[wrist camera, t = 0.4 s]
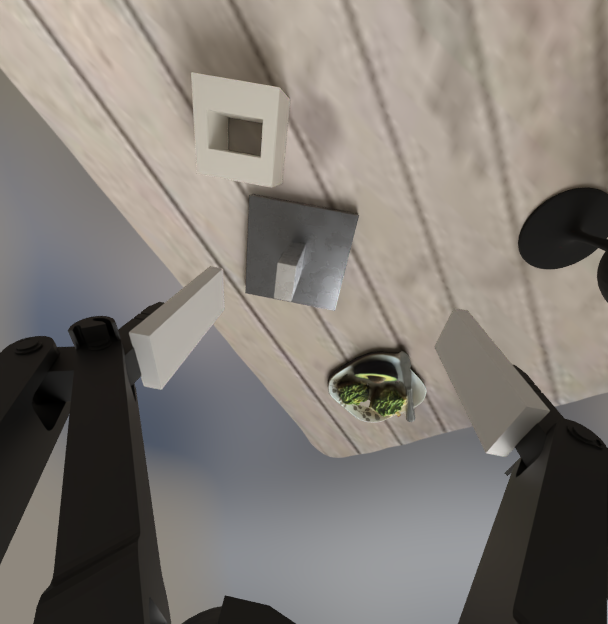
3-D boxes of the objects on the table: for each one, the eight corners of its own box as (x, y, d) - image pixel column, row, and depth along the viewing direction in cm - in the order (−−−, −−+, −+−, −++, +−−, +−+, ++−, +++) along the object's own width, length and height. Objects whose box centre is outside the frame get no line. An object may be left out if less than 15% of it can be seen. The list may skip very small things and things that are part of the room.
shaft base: (252, 194, 36) (223, 205, 27) (358, 213, 36) (363, 231, 27) (248, 289, 44) (224, 322, 35) (335, 306, 44) (333, 344, 35)
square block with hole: (216, 86, 31) (191, 72, 26) (290, 99, 31) (279, 87, 25) (217, 171, 35) (196, 173, 30) (282, 183, 35) (271, 187, 30)
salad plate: (448, 399, 51) (457, 419, 47) (371, 429, 59) (373, 448, 55) (394, 334, 45) (399, 351, 41) (316, 377, 53) (314, 395, 49)
